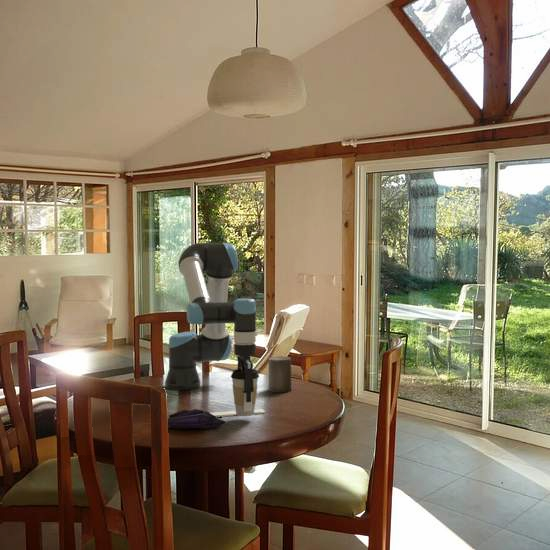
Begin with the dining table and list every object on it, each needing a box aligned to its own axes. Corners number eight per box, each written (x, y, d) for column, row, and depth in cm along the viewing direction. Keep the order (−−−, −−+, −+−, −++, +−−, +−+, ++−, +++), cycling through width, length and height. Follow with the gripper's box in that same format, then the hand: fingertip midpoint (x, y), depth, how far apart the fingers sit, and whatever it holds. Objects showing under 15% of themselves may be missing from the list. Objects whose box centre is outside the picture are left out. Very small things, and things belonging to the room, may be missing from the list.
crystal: (161, 413, 202) (222, 409, 201) (168, 408, 213) (226, 404, 213) (162, 436, 201) (223, 431, 201) (170, 429, 213) (227, 424, 212)
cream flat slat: (197, 415, 222) (197, 413, 222) (262, 410, 228) (262, 409, 228) (199, 418, 218) (199, 416, 218) (265, 413, 225) (265, 411, 225)
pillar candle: (295, 390, 260) (295, 355, 259) (276, 393, 254) (276, 357, 254) (282, 386, 268) (282, 352, 268) (263, 389, 263) (263, 354, 262)
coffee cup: (263, 411, 219) (263, 369, 218) (253, 418, 209) (253, 374, 209) (237, 408, 222) (237, 367, 221) (226, 416, 212) (226, 372, 212)
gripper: (262, 347, 205) (262, 414, 206) (248, 338, 226) (248, 399, 227) (240, 348, 203) (240, 416, 204) (228, 339, 224) (228, 400, 225)
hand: (245, 407), depth 215 cm, fingers closed on coffee cup, 9 cm apart
